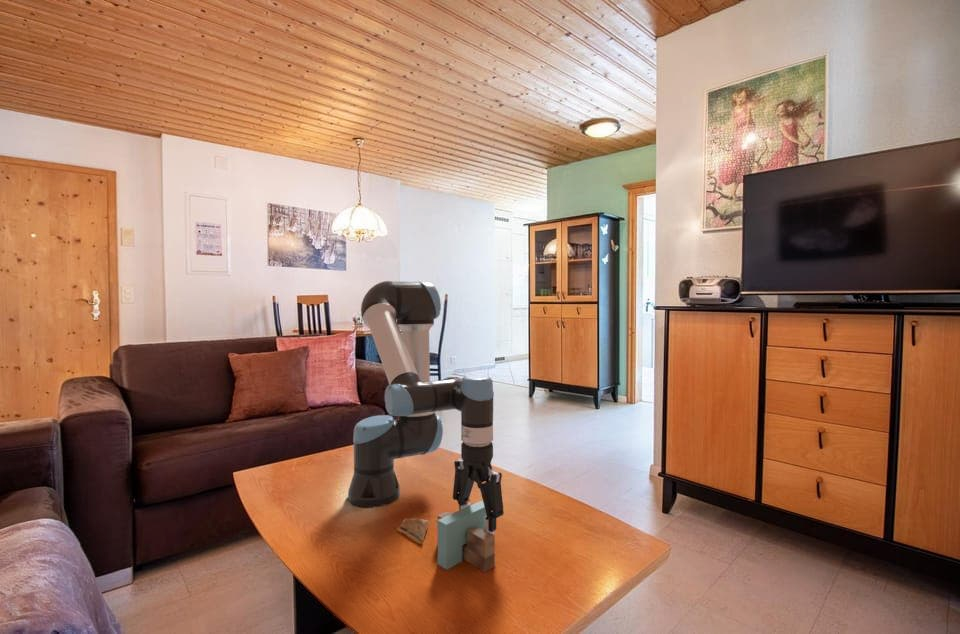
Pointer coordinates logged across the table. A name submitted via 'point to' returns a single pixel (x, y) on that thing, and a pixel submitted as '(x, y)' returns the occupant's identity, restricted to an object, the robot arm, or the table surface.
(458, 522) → the teal board
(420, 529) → the shard
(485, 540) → the walnut board
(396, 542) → the table surface
